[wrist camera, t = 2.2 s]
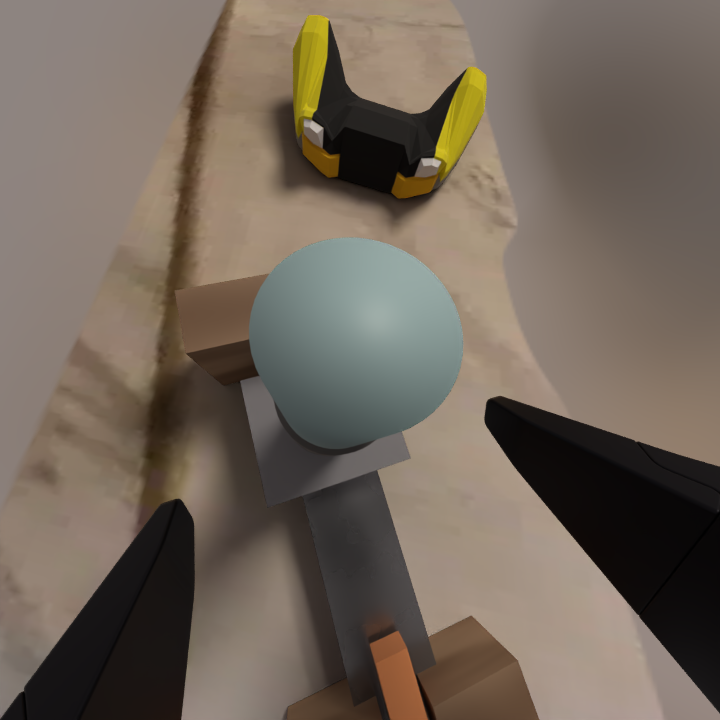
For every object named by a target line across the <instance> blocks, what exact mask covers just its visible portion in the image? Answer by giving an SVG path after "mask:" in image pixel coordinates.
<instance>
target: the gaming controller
mask: <svg viewBox="0 0 720 720" xmlns="http://www.w3.org/2000/svg"><path fill="white" fill-rule="evenodd" d="M486 90H487V88H486V75H485V74H484V73H483V72H481V71H480V70H479V69H477V68H475V67H468V68H467V69H466V70H465V71H464V72H463V73H462V74H461V75H460V76H459V77H458V78H457V79H456V80H455V81H454V82H453V83H452V84H451V85H450V86H449V87H448V88H447V89H446V90H445V91H444V92H443V94H442V95H441V96H440V97H439V98H438V100H437V101H436V102H435V103H434V104H433V106H432V107H431V108H430V109H429V110H427V111H425V112H422V113H418V114H409V113H406V112H403V111H400V110H397V109H394V108H390V107H387V106H384V105H381V104H378V103H375V102H372V101H369V100H365V99H362V98H360V97H359V96H357V95H356V94H355V93H353V92H352V91H351V89H350V88H349V86H348V85H347V84H346V81H345V77H344V72H343V68H342V63H341V58H340V54H339V50H338V47H337V44H336V40H335V37H334V34H333V31H332V27H331V24H330V21H329V20H328V19H327V18H326V17H323V16H320V15H308V17H307V19H306V21H305V23H304V25H303V27H302V29H301V31H300V33H299V36H298V38H297V41H296V43H295V46H294V48H293V111H294V123H295V132H296V140H297V143H298V146H299V147H300V148H301V149H302V150H303V155H304V156H305V157H306V158H307V159H308V160H309V161H310V162H311V163H312V164H313V165H314V166H315V167H317V168H318V169H319V170H320V171H321V172H322V173H323V174H324V175H326V176H327V177H328V178H330V177H337V176H338V178H341V179H344V180H348V181H351V182H354V183H358V184H361V185H364V186H368V187H371V188H374V189H378V190H381V191H384V192H388V193H393V194H394V195H395V196H396V197H397V198H408V197H412V196H416V195H420V194H426V193H429V192H431V191H432V190H433V189H437V188H438V187H439V186H440V185H442V184H443V182H444V181H445V179H446V178H447V177H448V175H449V174H450V173H451V171H452V170H453V169H454V167H455V166H456V164H457V162H458V161H459V159H460V157H461V155H462V153H463V152H464V150H465V148H466V146H467V144H468V143H469V141H470V139H471V137H472V135H473V133H474V132H475V130H476V128H477V125H478V123H479V121H480V119H481V117H482V115H483V113H484V107H485V99H486Z"/></svg>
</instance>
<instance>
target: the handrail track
mask: <svg viewBox="0 0 720 720" xmlns="http://www.w3.org/2000/svg"><path fill="white" fill-rule="evenodd" d="M303 500H304V504H305V508H306V512H307V516H308V520H309V524H310V528H311V532H312V537H313V541H314V545H315V549H316V553H317V557H318V561H319V565H320V569H321V573H322V578H323V582H324V586H325V590H326V594H327V598H328V602H329V606H330V610H331V614H332V618H333V623H334V627H335V631H336V635H337V639H338V643H339V647H340V651H341V655H342V659H343V664H344V668H345V672H346V676H347V680H348V684H349V688H350V692H351V696H352V700H353V704H354V707H355V706H357V705H359V704H361V703H363V702H365V701H367V700H369V699H370V698H372V697H374V696H376V698H377V702H378V706H379V709H380V713H381V716H382V720H389V716H388V712H387V708H386V704H385V701H384V697H383V693H382V689H381V686H380V682H379V678H378V674H377V671H376V667H375V663H374V659H373V655H372V652H371V648H370V644H371V643H373V642H375V641H377V640H379V639H381V638H384V637H386V636H388V635H390V634H392V633H394V632H396V631H399V633H400V635H401V637H402V639H403V641H404V643H405V645H406V647H407V649H408V653H409V656H410V660H411V663H412V667H413V670H414V673H415V677H416V680H417V684H418V687H419V691H420V694H421V698H422V701H423V704H424V708H425V711H426V715H427V718H428V720H430V718H429V714H428V711H427V707H426V704H425V700H424V697H423V694H422V690H421V687H420V683H419V680H418V676H417V674H418V673H420V672H422V671H424V670H426V669H428V668H430V667H432V666H434V665H436V661H435V658H434V654H433V651H432V648H431V645H430V641H429V638H428V635H427V632H426V628H425V625H424V622H423V619H422V615H421V612H420V609H419V606H418V602H417V599H416V596H415V593H414V589H413V586H412V583H411V580H410V576H409V573H408V570H407V566H406V563H405V560H404V557H403V553H402V550H401V547H400V544H399V540H398V537H397V534H396V531H395V527H394V524H393V521H392V518H391V514H390V511H389V508H388V505H387V501H386V498H385V495H384V492H383V488H382V485H381V482H380V478H379V475H378V472H377V470H375V471H373V472H370V473H367V474H364V475H361V476H358V477H355V478H352V479H349V480H347V481H344V482H341V483H338V484H335V485H332V486H329V487H326V488H323V489H321V490H318V491H315V492H312V493H309V494H306V495H303Z"/></svg>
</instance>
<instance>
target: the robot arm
mask: <svg viewBox="0 0 720 720" xmlns="http://www.w3.org/2000/svg"><path fill="white" fill-rule="evenodd" d="M484 420H485V424H486V426H487V428H488V429H489V431H490V432H491V434H492V435H493V437H494V438H495V440H496V441H497V443H498V444H499V445H500V447H501V448H502V450H503V451H504V453H505V454H506V456H507V457H508V459H509V460H510V461H511V463H512V464H513V466H514V467H515V468H516V469H517V471H518V472H519V473H520V474H521V476H522V477H523V478H524V479H525V480H526V482H527V483H528V484H529V485H530V486H531V488H532V489H533V490H534V491H535V492H536V494H537V495H538V496H539V497H540V498H541V500H542V501H543V502H544V503H545V504H546V506H547V507H548V508H549V509H550V510H551V512H552V513H553V514H554V515H555V516H556V518H557V519H558V520H559V521H560V522H561V524H562V525H563V526H564V527H565V528H566V530H567V531H568V532H569V533H570V534H571V536H572V537H573V538H574V539H575V540H576V541H577V543H578V544H579V545H580V546H581V547H582V549H583V550H584V551H585V552H586V553H587V555H588V556H589V557H590V558H591V559H592V561H593V562H594V563H595V564H596V565H597V567H598V568H599V569H600V570H601V571H602V573H603V574H604V575H605V576H606V577H607V579H608V580H609V581H610V582H611V583H612V585H613V586H614V587H615V588H616V589H617V591H618V592H619V593H620V594H621V595H622V597H623V598H624V599H625V600H626V601H627V603H628V604H629V605H630V606H631V607H632V609H633V610H634V611H635V612H636V613H637V614H638V615H639V617H640V618H641V620H642V621H643V622H644V623H645V624H646V625H647V627H648V628H649V629H650V630H651V632H652V633H653V634H654V635H655V636H656V638H657V639H658V640H659V641H660V642H661V644H662V645H663V646H664V647H665V648H666V650H667V651H668V652H669V653H670V654H671V656H672V657H673V658H674V659H675V660H676V662H677V663H678V664H679V665H680V666H681V667H682V669H683V670H684V671H685V672H686V674H687V675H688V676H689V677H690V678H691V679H692V681H693V682H694V683H695V684H696V685H697V687H698V688H699V689H700V690H701V691H702V693H703V694H704V695H705V696H706V697H707V699H708V700H709V701H710V702H711V703H712V704H713V706H714V707H715V708H716V709H717V711H718V712H719V713H720V467H719V466H715V465H712V464H708V463H705V462H702V461H698V460H695V459H691V458H688V457H684V456H681V455H678V454H675V453H671V452H668V451H665V450H662V449H659V448H656V447H653V446H650V445H647V444H644V443H641V442H635V441H634V440H632V439H629V438H626V437H623V436H620V435H617V434H614V433H611V432H607V431H605V430H602V429H599V428H596V427H593V426H590V425H587V424H584V423H580V422H578V421H575V420H572V419H569V418H566V417H563V416H560V415H557V414H554V413H551V412H548V411H545V410H542V409H539V408H536V407H533V406H530V405H527V404H524V403H521V402H518V401H515V400H512V399H508V398H505V397H502V396H497V397H494V398H491V399H488V401H487V403H486V410H485V417H484ZM194 586H195V564H194V521H193V518H192V516H191V515H190V513H189V511H188V510H187V508H186V506H185V505H184V503H183V502H182V500H181V499H174V500H171V501H168V502H165V503H162V504H161V505H160V506H159V507H158V508H157V510H156V511H155V512H154V514H153V515H152V516H151V518H150V519H149V520H148V522H147V523H146V524H145V526H144V527H143V528H142V530H141V531H140V532H139V534H138V535H137V536H136V538H135V539H134V540H133V542H132V543H131V544H130V546H129V547H128V548H127V550H126V551H125V552H124V554H123V555H122V557H121V558H120V559H119V561H118V562H117V563H116V565H115V566H114V567H113V569H112V570H111V571H110V573H109V574H108V575H107V577H106V578H105V579H104V581H103V582H102V583H101V585H100V586H99V587H98V589H97V590H96V591H95V593H94V594H93V595H92V597H91V598H90V599H89V601H88V602H87V603H86V605H85V606H84V608H83V609H82V610H81V612H80V613H79V614H78V616H77V617H76V618H75V620H74V621H73V622H72V624H71V625H70V626H69V628H68V629H67V630H66V632H65V633H64V634H63V636H62V637H61V638H60V640H59V641H58V642H57V644H56V645H55V646H54V648H53V649H52V650H51V652H50V653H49V655H48V656H47V657H46V659H45V660H44V661H43V663H42V664H41V665H40V667H39V668H38V669H37V671H36V672H35V673H34V675H33V676H32V677H31V679H30V680H29V681H28V683H27V684H26V685H25V687H24V691H23V692H21V693H19V695H18V696H17V697H16V699H15V700H14V701H13V703H12V704H11V705H10V707H9V708H8V709H7V711H6V712H5V713H4V715H3V716H2V717H1V719H0V720H181V716H182V707H183V697H184V688H185V678H186V669H187V659H188V649H189V640H190V630H191V621H192V611H193V601H194Z"/></svg>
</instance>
